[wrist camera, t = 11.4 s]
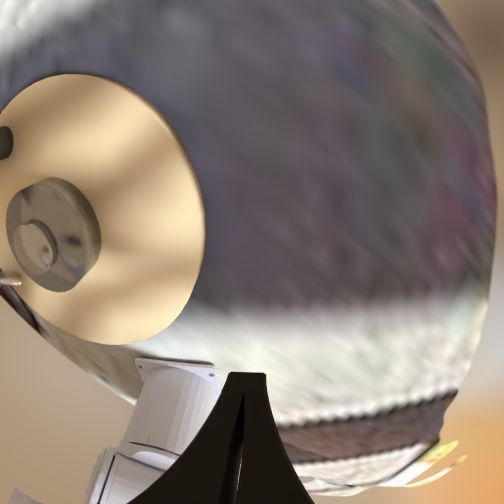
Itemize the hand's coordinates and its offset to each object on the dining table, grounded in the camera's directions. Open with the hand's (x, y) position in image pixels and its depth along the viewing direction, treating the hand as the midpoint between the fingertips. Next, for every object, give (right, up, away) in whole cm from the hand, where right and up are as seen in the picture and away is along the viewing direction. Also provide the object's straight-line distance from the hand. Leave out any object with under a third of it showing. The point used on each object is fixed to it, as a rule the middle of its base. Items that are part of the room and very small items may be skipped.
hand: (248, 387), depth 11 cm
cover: (-13, +7, +5) cm, 15 cm away
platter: (-13, +7, +7) cm, 16 cm away
